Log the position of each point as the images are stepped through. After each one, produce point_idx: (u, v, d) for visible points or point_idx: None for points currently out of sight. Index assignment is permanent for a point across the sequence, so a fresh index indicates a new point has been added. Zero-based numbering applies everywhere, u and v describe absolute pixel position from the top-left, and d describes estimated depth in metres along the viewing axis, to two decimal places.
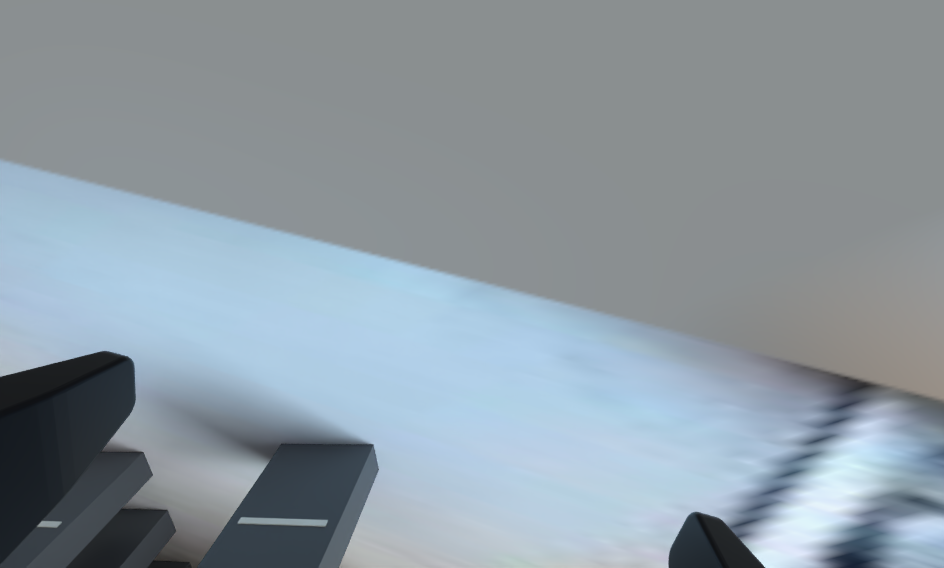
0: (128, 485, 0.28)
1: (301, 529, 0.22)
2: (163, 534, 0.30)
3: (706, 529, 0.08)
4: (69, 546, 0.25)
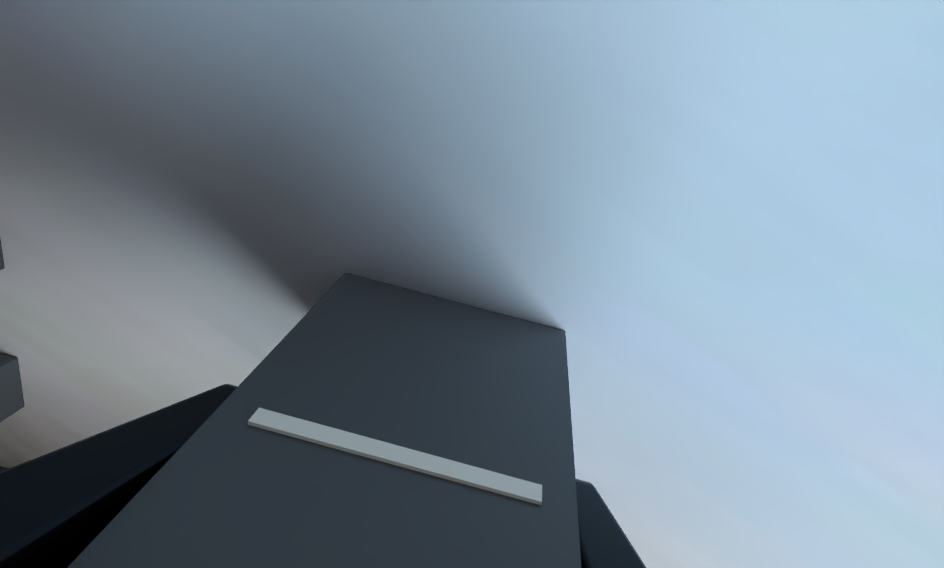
0: None
1: (466, 495, 0.07)
2: None
3: None
4: None
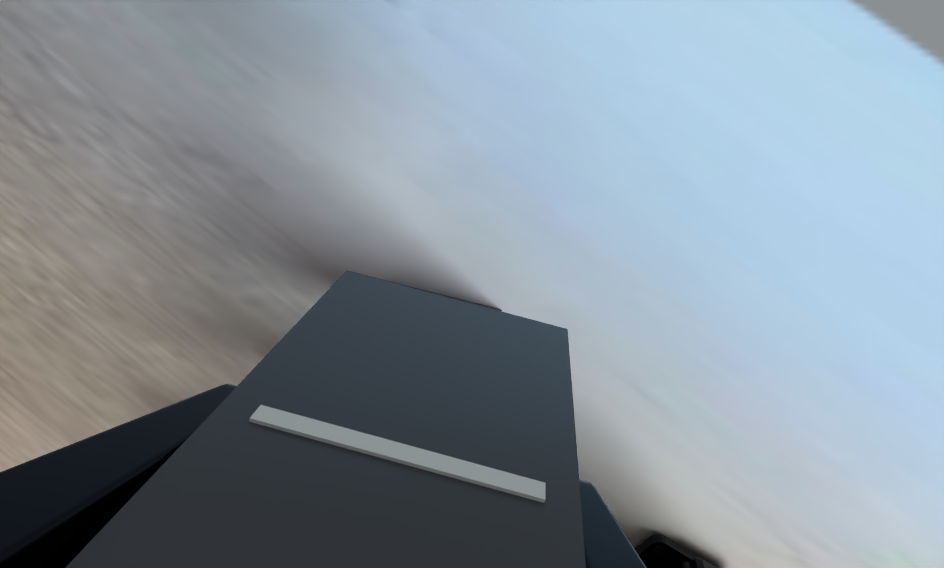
0: None
1: (469, 493, 0.07)
2: None
3: None
4: None
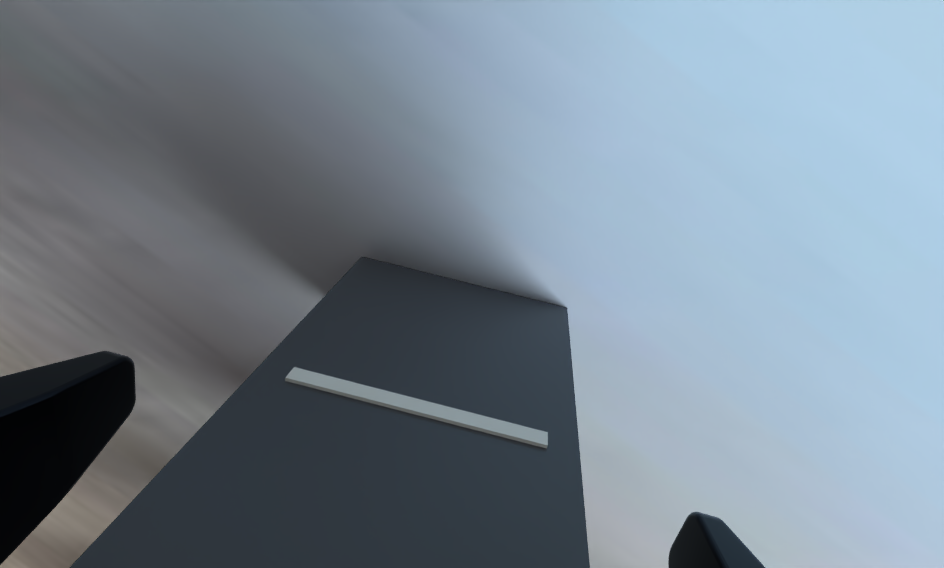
0: None
1: (480, 439, 0.08)
2: None
3: (706, 529, 0.08)
4: None
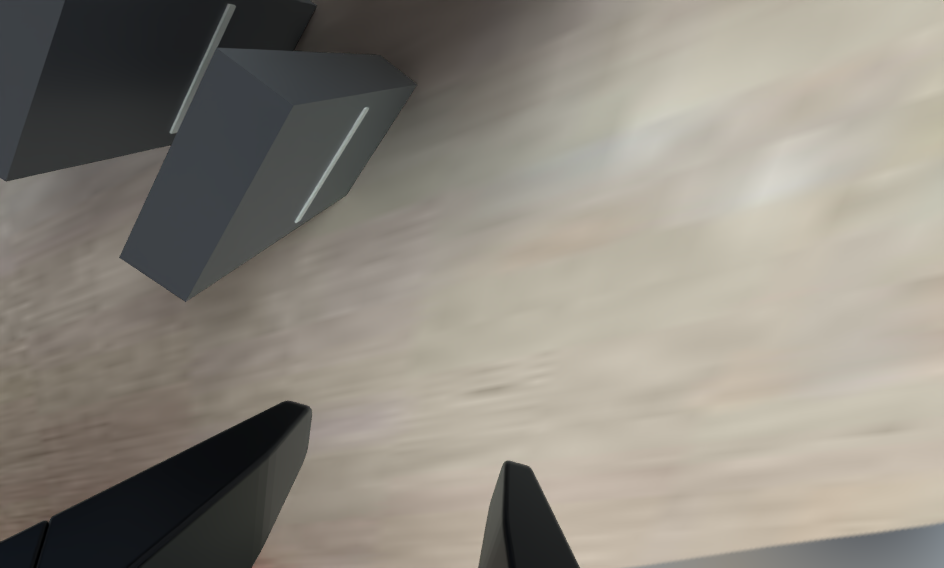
0: None
1: None
2: None
3: (509, 475, 0.08)
4: None
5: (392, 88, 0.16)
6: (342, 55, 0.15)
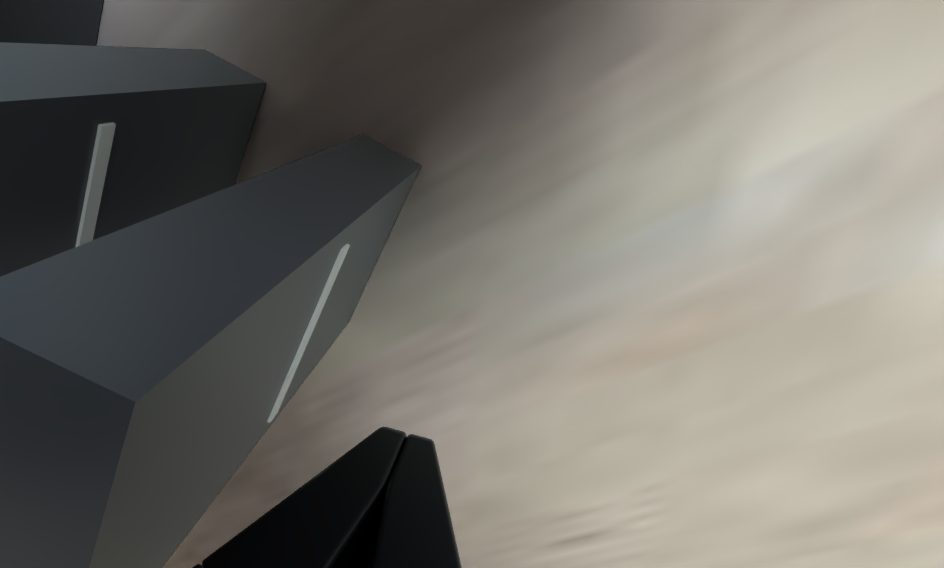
0: None
1: None
2: None
3: (407, 447, 0.08)
4: None
5: (384, 195, 0.10)
6: (298, 164, 0.09)
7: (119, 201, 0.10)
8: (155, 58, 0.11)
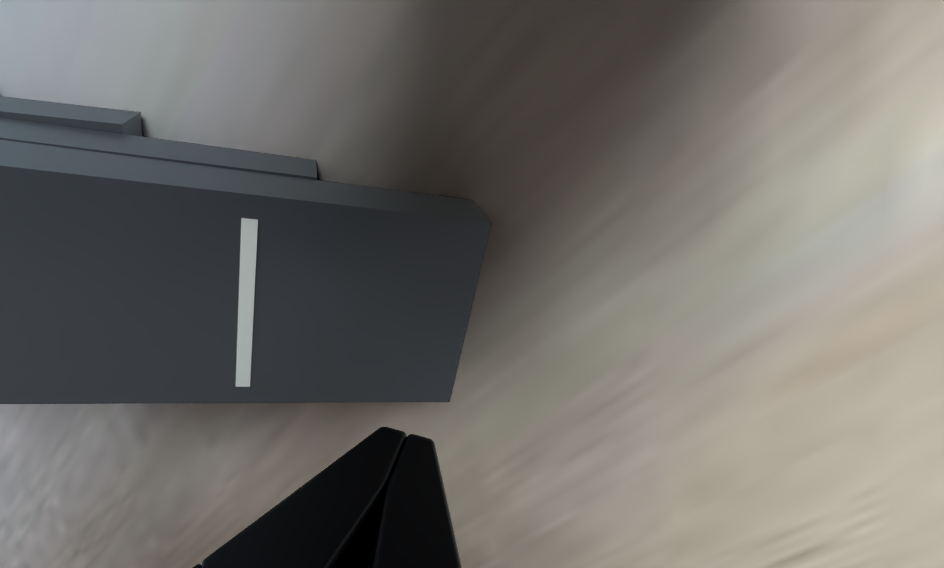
0: None
1: None
2: (89, 115, 0.12)
3: (408, 447, 0.08)
4: None
5: (344, 205, 0.11)
6: (310, 180, 0.12)
7: None
8: (208, 150, 0.12)
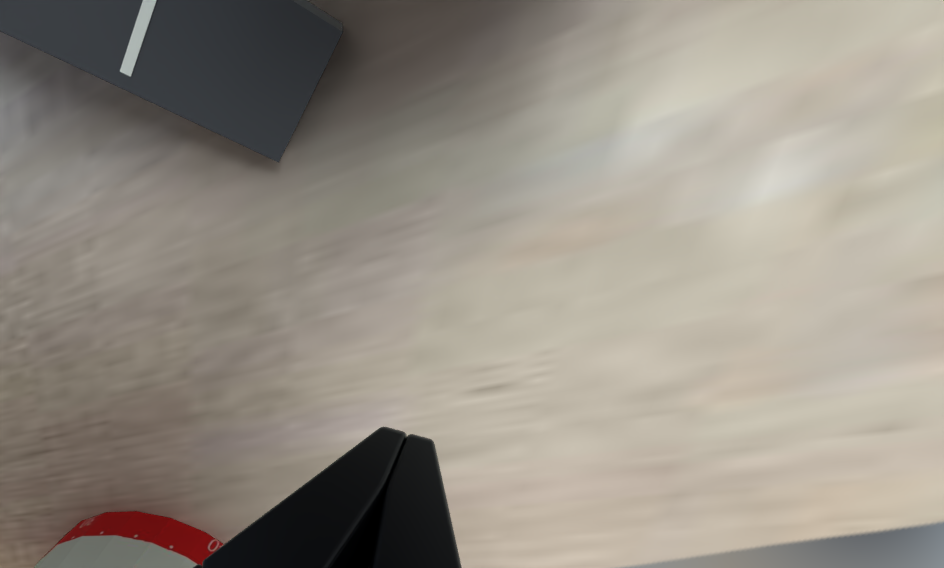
0: None
1: None
2: None
3: (407, 447, 0.08)
4: None
5: None
6: None
7: None
8: None
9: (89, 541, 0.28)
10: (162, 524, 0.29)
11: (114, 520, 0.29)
